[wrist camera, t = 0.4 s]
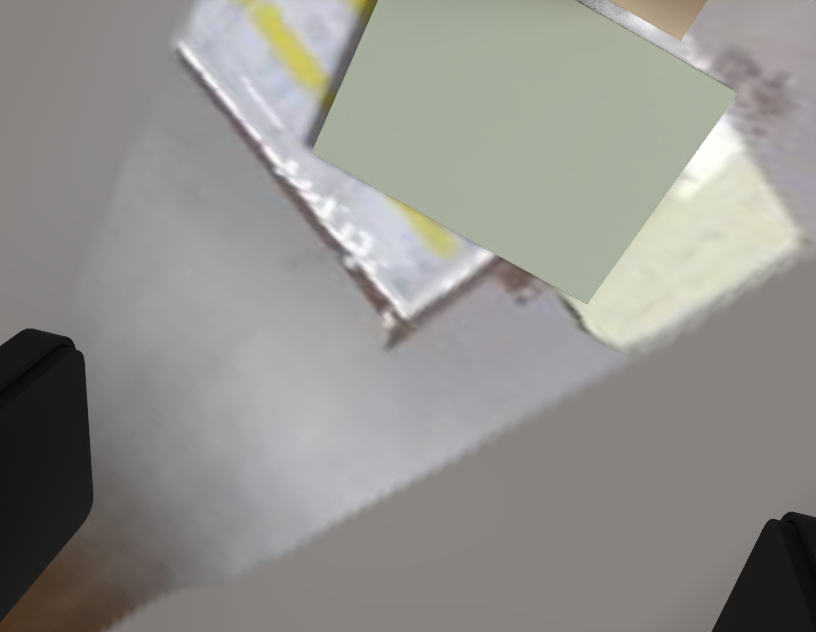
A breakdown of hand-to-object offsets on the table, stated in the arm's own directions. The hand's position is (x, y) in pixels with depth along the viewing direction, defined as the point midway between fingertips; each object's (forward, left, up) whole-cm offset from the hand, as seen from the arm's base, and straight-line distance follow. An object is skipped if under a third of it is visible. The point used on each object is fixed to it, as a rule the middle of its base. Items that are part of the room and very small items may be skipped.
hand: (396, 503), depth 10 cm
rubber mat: (+1, 0, -29) cm, 29 cm away
